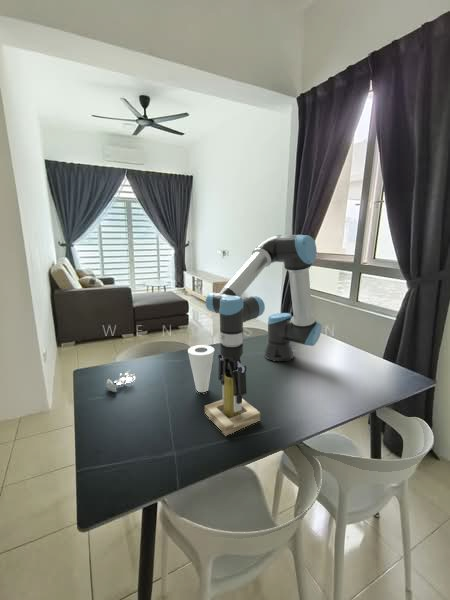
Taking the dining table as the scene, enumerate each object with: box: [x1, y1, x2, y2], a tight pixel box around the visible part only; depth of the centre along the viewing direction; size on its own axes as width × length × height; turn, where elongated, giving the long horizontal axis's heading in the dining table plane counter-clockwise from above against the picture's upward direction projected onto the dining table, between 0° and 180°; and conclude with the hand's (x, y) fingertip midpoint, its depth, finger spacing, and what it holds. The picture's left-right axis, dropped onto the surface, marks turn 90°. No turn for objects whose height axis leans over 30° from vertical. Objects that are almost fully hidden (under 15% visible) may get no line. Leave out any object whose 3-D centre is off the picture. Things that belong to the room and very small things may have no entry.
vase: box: [223, 371, 241, 417], centre depth 98 cm, size 6×6×14 cm
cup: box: [187, 344, 215, 393], centre depth 116 cm, size 11×11×18 cm
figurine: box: [106, 369, 136, 392], centre depth 121 cm, size 9×6×12 cm
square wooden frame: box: [204, 398, 261, 437], centre depth 100 cm, size 14×14×4 cm
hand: (231, 405), depth 99 cm, fingers open, 6 cm apart
